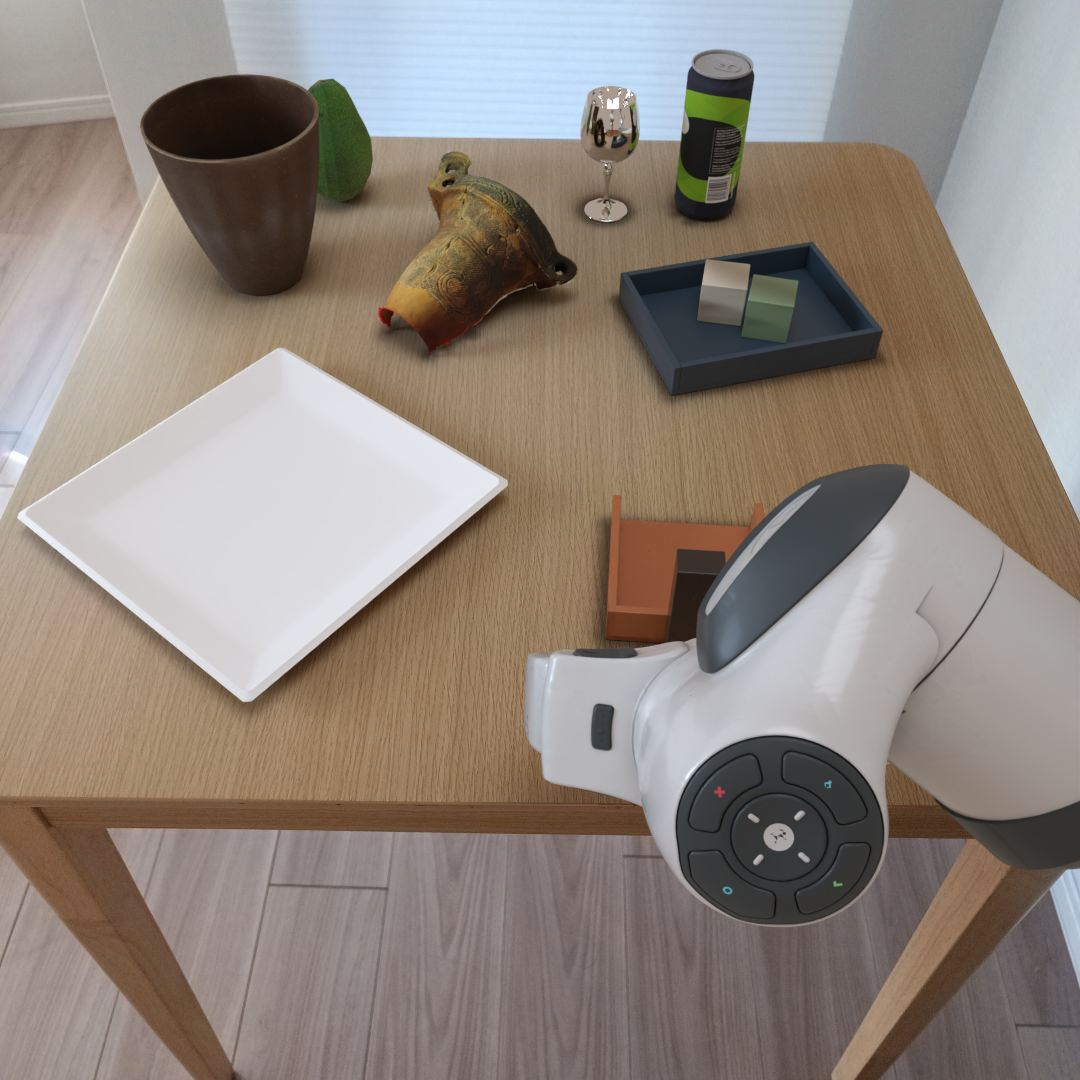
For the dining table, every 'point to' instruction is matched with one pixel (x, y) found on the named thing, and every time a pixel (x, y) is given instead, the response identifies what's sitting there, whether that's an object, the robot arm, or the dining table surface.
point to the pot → (473, 256)
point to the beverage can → (713, 133)
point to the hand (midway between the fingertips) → (697, 678)
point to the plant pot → (241, 173)
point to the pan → (664, 574)
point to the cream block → (723, 292)
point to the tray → (719, 349)
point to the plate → (262, 516)
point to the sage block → (770, 308)
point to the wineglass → (609, 141)
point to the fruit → (340, 143)
